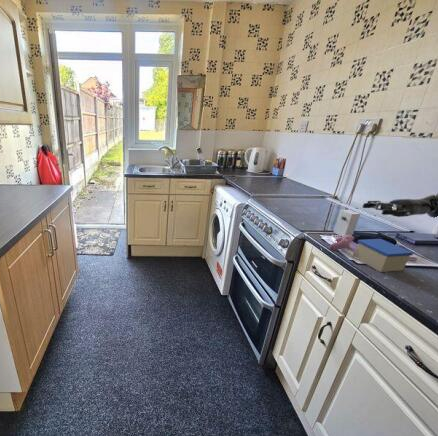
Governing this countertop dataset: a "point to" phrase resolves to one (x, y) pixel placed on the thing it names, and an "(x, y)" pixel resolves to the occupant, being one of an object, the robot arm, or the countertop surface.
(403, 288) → the countertop surface
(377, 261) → the container
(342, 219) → the white case
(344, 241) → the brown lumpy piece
